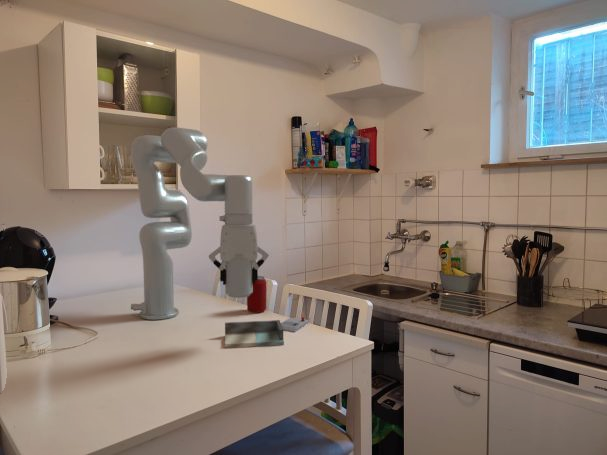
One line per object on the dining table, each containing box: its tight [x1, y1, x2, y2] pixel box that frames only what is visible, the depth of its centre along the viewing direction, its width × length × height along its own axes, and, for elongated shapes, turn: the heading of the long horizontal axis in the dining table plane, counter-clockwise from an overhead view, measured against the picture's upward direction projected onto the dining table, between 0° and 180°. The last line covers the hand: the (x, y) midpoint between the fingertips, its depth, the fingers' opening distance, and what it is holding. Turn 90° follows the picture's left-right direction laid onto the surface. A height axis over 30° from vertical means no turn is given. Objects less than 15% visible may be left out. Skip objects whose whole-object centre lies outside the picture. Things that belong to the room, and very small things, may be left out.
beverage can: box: [246, 275, 267, 314], centre depth 157 cm, size 7×7×12 cm
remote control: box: [281, 316, 311, 333], centre depth 141 cm, size 7×16×3 cm, turn 155°
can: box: [224, 255, 253, 299], centre depth 124 cm, size 8×8×12 cm
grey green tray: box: [224, 319, 285, 349], centre depth 126 cm, size 16×10×4 cm, turn 100°
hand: (239, 283), depth 124 cm, fingers closed on can, 7 cm apart
